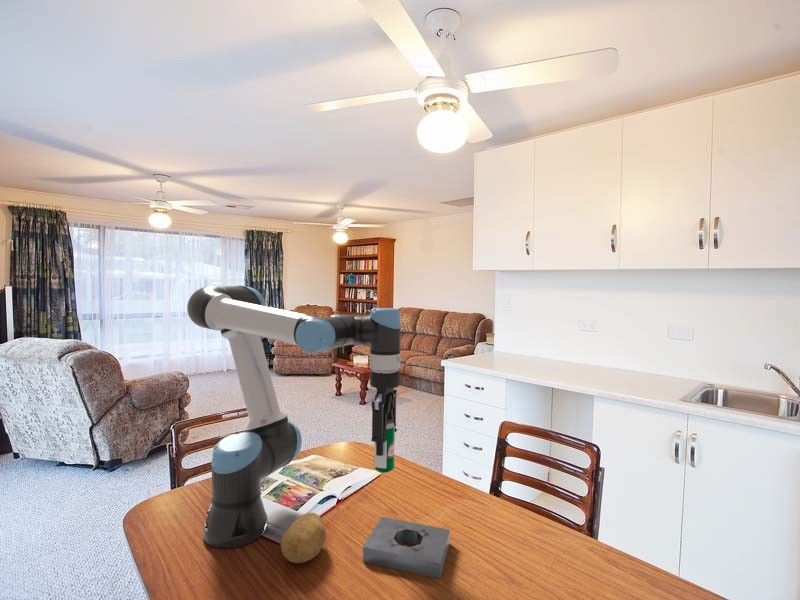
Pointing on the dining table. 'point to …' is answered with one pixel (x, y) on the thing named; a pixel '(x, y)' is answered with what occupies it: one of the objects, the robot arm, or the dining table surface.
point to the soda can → (388, 448)
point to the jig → (416, 559)
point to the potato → (303, 538)
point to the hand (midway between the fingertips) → (384, 462)
